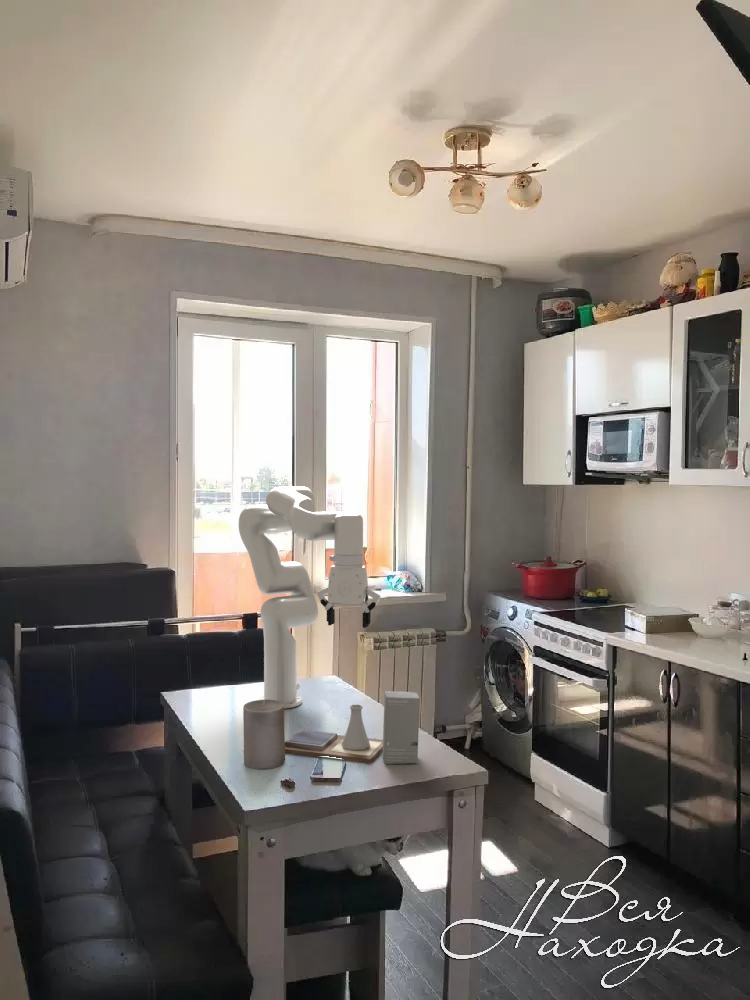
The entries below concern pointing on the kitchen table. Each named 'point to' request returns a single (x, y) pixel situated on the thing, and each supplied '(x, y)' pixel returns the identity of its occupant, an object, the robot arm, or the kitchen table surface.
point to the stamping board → (330, 746)
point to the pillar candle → (264, 734)
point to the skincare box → (400, 727)
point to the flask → (356, 731)
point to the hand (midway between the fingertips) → (348, 625)
